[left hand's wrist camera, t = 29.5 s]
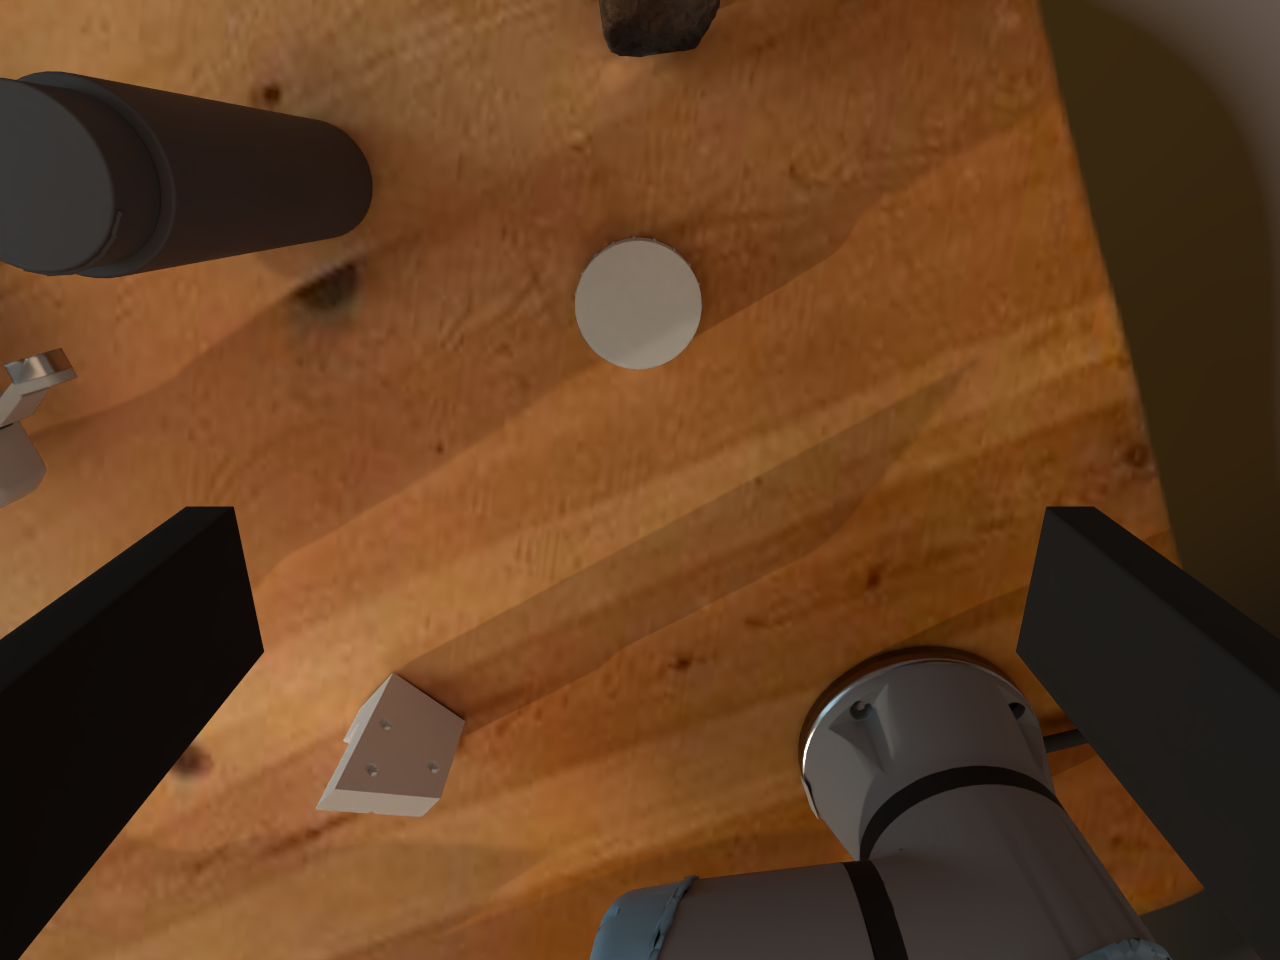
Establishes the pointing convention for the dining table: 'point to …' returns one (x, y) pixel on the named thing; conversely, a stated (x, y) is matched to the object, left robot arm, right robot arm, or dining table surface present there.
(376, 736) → the white angled block
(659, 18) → the decorative rock
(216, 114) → the dark grey thermos bottle
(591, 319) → the lid
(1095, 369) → the dining table surface
